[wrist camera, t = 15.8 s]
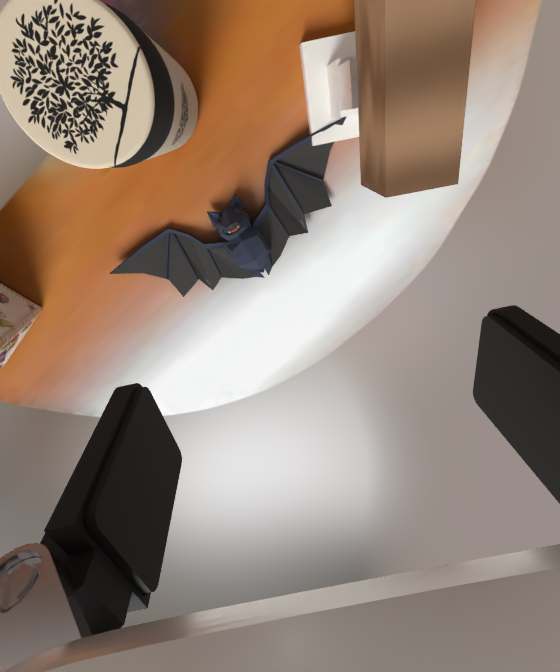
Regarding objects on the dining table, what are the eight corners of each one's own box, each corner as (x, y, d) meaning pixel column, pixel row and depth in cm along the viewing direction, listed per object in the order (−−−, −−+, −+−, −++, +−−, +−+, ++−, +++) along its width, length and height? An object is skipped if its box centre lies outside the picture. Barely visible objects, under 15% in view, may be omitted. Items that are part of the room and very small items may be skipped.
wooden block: (351, -55, 22) (384, -110, 17) (431, -71, 22) (488, -131, 17) (361, 184, 29) (385, 197, 24) (420, 173, 29) (457, 183, 24)
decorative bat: (159, 345, 41) (98, 274, 37) (168, 329, 45) (113, 264, 41) (392, 208, 35) (349, 106, 31) (380, 203, 39) (340, 111, 35)
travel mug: (97, 118, 33) (-33, 113, 17) (129, 26, 30) (4, -80, 14) (177, 168, 36) (125, 202, 20) (213, 88, 32) (184, 56, 17)
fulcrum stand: (299, 45, 31) (317, 18, 23) (410, 21, 31) (465, -13, 23) (311, 145, 35) (329, 151, 28) (408, 125, 35) (455, 125, 27)
